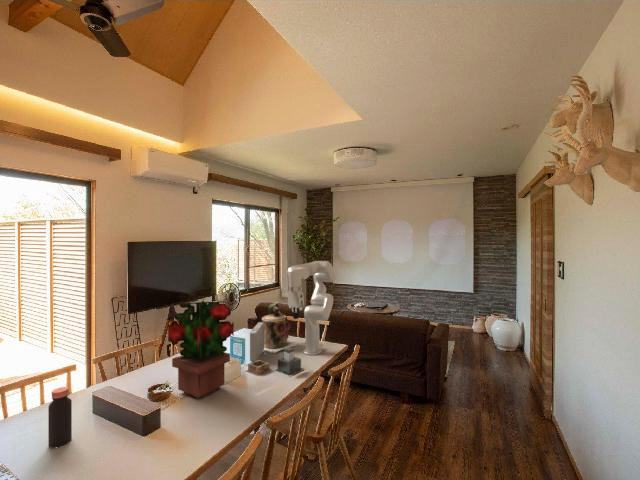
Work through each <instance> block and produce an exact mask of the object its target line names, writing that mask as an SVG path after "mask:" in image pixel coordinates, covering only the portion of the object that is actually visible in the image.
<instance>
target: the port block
mask: <svg viewBox="0 0 640 480" xmlns="http://www.w3.org/2000/svg"><path fill="white" fill-rule="evenodd" d="M274 371H275V372H278V373H280V374H283V375H286V376H288V377H289V378H292V377H293V376H296V375H298V374H299V373H301V372H304V371H305V370H304V368H302V358H300V357H297V356H294V360H292V361H290V362H288V361H285V360H284V356H283V357H281V358H279V359H277V368H276V369H274Z"/></svg>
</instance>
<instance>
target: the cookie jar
mask: <svg viewBox="0 0 640 480" xmlns="http://www.w3.org/2000/svg"><path fill="white" fill-rule="evenodd" d="M267 311H268V315H264V316H262V317H261V322H264V349H263V352H266V353H269V354H275V353H279V352H280V351H284V349H286V348H289V347H290V348H293V347H296V346H298V344H299V342H298V341H291V340H288V339H289V338H290V337H289V330H290V328H291V324H290V323H289V319H288V317H287V316H286V315H285V314H284V313H282V312H281V311H280V309H279V301H278V300H276V302H274V303H271V304H270V305H268V309H267Z"/></svg>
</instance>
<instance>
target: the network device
mask: <svg viewBox="0 0 640 480" xmlns="http://www.w3.org/2000/svg"><path fill="white" fill-rule="evenodd" d="M263 349H264V322H263V321H261V322H260V321H258V322H257V324H255V326H254V327H253V328H252V329H251V331H249V362H255V361H257V360H259V358H260V356H261V355H262V354H264V355H266V354H267V351H264V350H263Z"/></svg>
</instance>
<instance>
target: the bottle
mask: <svg viewBox="0 0 640 480" xmlns="http://www.w3.org/2000/svg"><path fill="white" fill-rule="evenodd" d="M68 396H69V387H68V386H61V387H57V388H55V389H53V390H52V391H51V400H52V401H51V402H50V403H49V404H48V409H47V411H48V413H47V414H48V427H47V428H48V433H47V434H48V437H47V438H48V443H47V444H48V445H47V446H48V447H49V448H50V449H55V448H56V447H57V448H61V447H63V446H66V445H67V444H68V442H69V443H70V442H71V440H72V434H73V433H72V431H73V430H72V428H73V427H72V426H73V425H72V424H73V423H72V422H73V421H72V413H73V412H72V411H73V409H72V407H73V406H72V404H73V403H72V399H71V398H70V397H68ZM60 446H61V447H60ZM57 448H56V449H57Z"/></svg>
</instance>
